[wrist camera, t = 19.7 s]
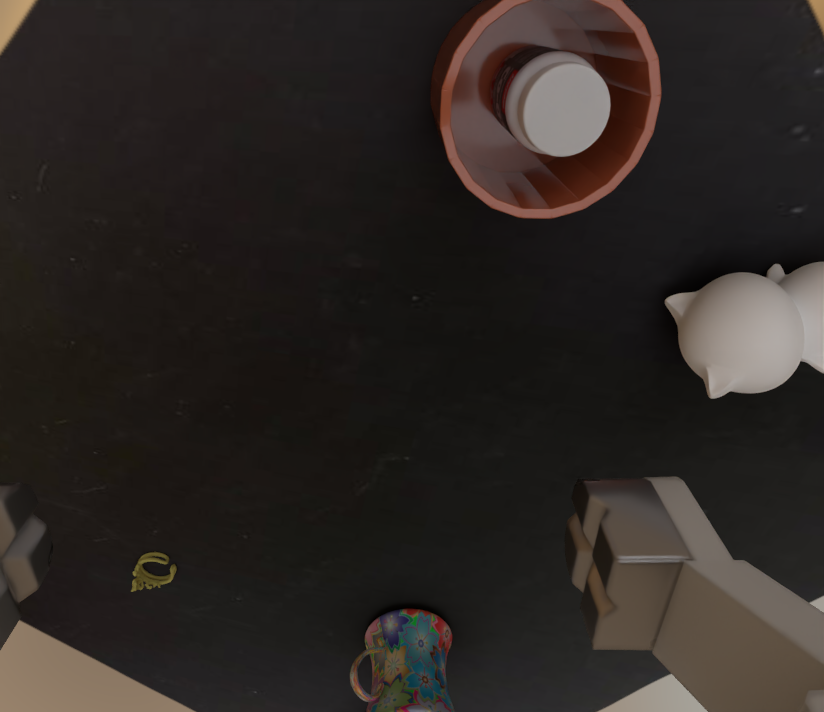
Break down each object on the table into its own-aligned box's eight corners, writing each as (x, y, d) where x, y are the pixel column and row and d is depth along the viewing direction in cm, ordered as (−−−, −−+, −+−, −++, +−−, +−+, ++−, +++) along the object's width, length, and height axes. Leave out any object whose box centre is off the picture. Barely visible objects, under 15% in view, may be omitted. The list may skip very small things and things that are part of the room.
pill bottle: (482, 57, 34) (506, 68, 26) (566, 35, 33) (614, 39, 26) (496, 143, 36) (522, 175, 29) (575, 123, 35) (621, 150, 28)
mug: (474, 632, 59) (488, 746, 50) (403, 671, 62) (404, 785, 53) (394, 569, 55) (394, 681, 46) (321, 614, 58) (307, 729, 48)
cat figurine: (949, 328, 33) (729, 381, 34) (858, 402, 42) (687, 442, 43) (862, 209, 37) (668, 260, 38) (796, 301, 46) (642, 339, 47)
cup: (434, -13, 33) (446, -23, 25) (616, -7, 33) (685, -15, 25) (427, 175, 37) (435, 216, 30) (585, 178, 38) (635, 220, 30)
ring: (136, 551, 54) (116, 580, 52) (160, 547, 53) (140, 577, 50) (161, 573, 56) (142, 603, 53) (185, 571, 54) (166, 601, 52)
